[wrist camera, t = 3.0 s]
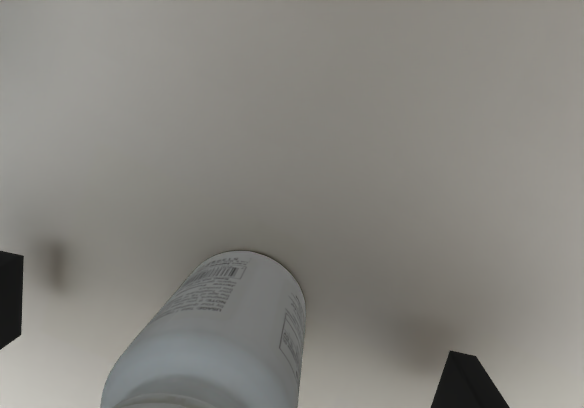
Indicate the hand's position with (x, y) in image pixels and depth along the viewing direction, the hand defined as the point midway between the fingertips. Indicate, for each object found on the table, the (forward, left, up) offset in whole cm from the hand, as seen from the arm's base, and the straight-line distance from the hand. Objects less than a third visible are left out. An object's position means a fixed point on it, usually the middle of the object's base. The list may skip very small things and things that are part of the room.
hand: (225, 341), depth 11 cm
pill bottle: (0, 0, -2) cm, 2 cm away
